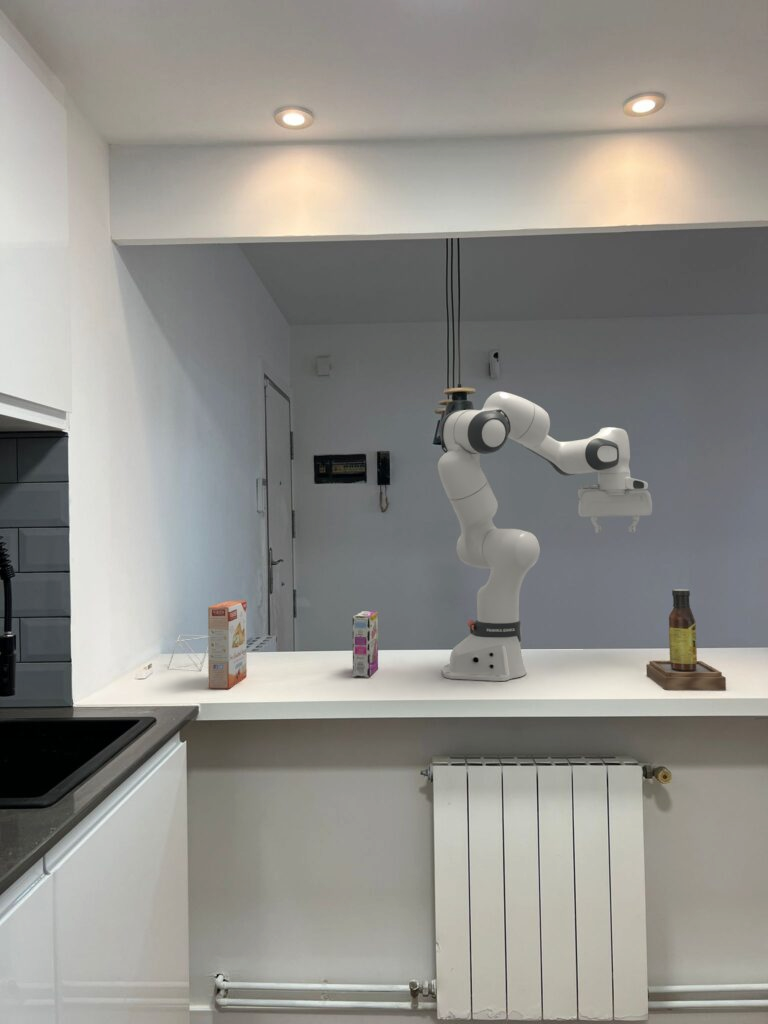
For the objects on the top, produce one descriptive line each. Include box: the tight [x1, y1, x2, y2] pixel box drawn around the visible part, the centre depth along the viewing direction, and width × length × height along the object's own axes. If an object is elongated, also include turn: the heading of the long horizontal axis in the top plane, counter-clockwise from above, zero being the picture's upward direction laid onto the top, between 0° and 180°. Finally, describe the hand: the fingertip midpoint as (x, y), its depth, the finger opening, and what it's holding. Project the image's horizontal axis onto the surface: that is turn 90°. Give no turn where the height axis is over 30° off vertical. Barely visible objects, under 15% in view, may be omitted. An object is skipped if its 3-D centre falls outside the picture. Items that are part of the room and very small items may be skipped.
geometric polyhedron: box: [167, 634, 208, 672], centre depth 199 cm, size 12×11×9 cm
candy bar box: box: [352, 610, 379, 679], centre depth 188 cm, size 11×5×16 cm, turn 168°
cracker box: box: [207, 600, 248, 690], centre depth 180 cm, size 14×6×21 cm, turn 173°
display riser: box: [645, 660, 727, 691], centre depth 172 cm, size 14×15×4 cm
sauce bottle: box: [668, 588, 698, 671], centre depth 172 cm, size 7×6×20 cm
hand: (615, 532), depth 198 cm, fingers open, 8 cm apart
